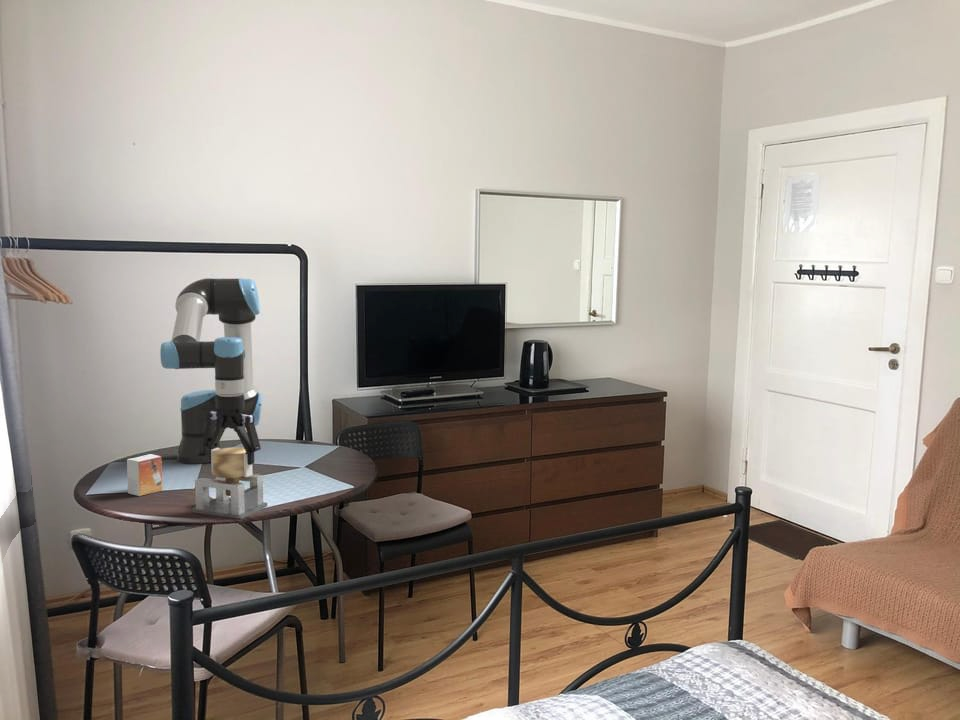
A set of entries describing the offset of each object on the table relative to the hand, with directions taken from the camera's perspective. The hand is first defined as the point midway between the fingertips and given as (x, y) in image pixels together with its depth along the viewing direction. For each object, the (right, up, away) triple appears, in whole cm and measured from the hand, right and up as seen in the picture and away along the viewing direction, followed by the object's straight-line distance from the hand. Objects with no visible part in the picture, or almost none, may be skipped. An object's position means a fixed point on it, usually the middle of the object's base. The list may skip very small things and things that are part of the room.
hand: (232, 473), depth 216 cm
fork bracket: (-1, -10, +2) cm, 10 cm away
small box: (-31, -8, +16) cm, 36 cm away
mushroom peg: (0, -6, +1) cm, 6 cm away
